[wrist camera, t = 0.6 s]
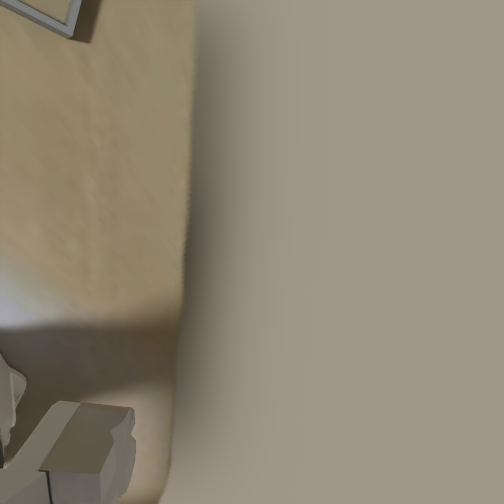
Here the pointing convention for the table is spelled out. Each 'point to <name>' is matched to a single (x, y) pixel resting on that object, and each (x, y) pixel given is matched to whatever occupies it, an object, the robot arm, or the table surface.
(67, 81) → the table surface
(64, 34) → the parts tray
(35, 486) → the robot arm
